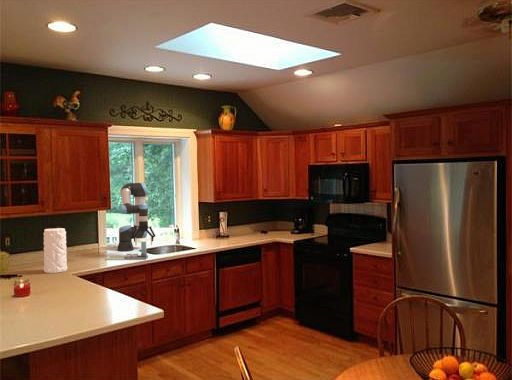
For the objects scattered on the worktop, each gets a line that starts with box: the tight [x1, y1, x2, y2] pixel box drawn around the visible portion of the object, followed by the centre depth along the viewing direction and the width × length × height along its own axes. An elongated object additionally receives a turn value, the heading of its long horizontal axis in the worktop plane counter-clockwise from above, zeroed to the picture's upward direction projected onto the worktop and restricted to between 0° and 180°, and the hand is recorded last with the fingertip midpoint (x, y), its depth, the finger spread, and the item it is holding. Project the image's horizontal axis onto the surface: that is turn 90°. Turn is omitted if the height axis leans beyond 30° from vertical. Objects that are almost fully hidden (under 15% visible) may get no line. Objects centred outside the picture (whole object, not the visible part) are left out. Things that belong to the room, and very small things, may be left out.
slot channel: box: [123, 254, 149, 261], centre depth 381 cm, size 9×18×3 cm, turn 91°
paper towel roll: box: [42, 227, 68, 274], centre depth 340 cm, size 17×16×32 cm
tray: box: [104, 255, 126, 261], centre depth 381 cm, size 11×16×3 cm
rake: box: [140, 241, 148, 255], centre depth 392 cm, size 5×4×14 cm
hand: (143, 245), depth 392 cm, fingers open, 13 cm apart
